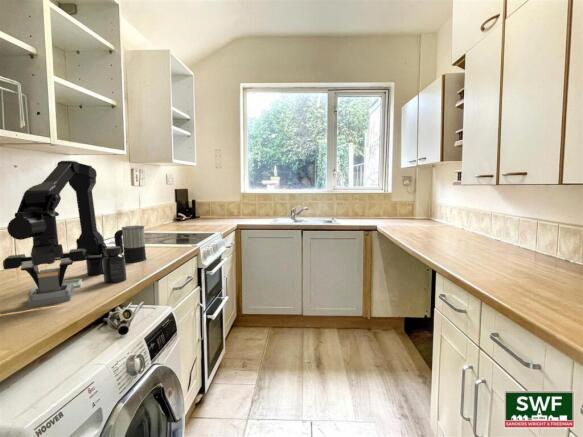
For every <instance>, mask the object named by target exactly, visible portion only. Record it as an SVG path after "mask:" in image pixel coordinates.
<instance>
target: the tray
mask: <svg viewBox="0 0 583 437" xmlns="http://www.w3.org/2000/svg"><path fill="white" fill-rule="evenodd" d="M63 282H64V284H71V285H73V284H74V289H76V288H81V286H82V283H83V278H82V277H81V278H73V279H72V278H71V279H65V280H63ZM35 288H38V287H37V285H36V283H35V284H34V286H33V287H32V288H31V290H30V291H29V294H30V293H31V291H32V290H33V289H35Z"/></svg>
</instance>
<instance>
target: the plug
mask: <svg viewBox="0 0 583 437" xmlns="http://www.w3.org/2000/svg"><path fill="white" fill-rule="evenodd" d="M59 274H60V267H56V268H45V269H41V270H40V269H39V273H38V281H39V290H40V294H41V293H48V292H55V291H60V290H61V287H60V284H59Z"/></svg>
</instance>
